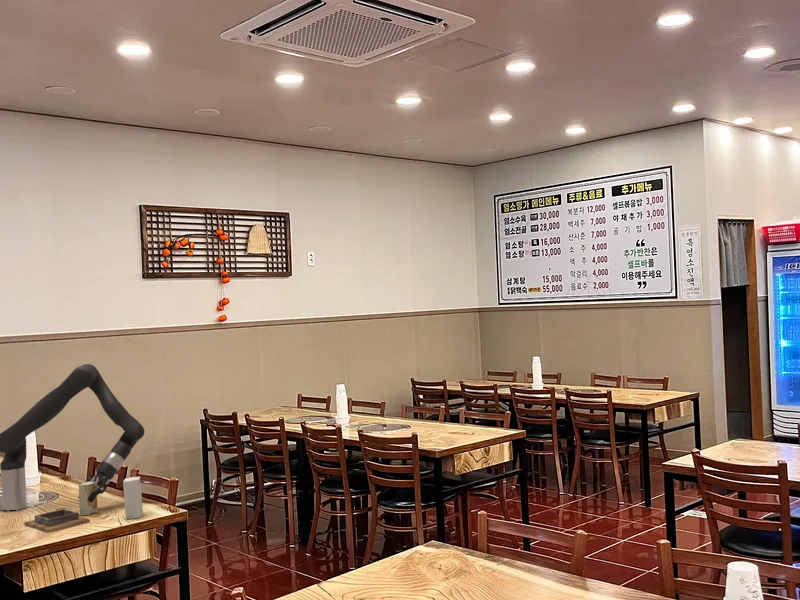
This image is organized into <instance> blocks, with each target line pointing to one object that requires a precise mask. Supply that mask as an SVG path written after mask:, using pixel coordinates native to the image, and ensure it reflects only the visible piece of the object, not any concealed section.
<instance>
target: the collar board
mask: <svg viewBox="0 0 800 600" xmlns="http://www.w3.org/2000/svg"><path fill="white" fill-rule="evenodd" d="M87 522H89V523H90V522H91V521H90V519H89V518H87V517H82V516H80V514H79V512H77V511H74V510H70V509H66V508H62V509H58V510H54V511H48V512H46V513H41V514H36V515H34V519H32V520H27V521H24V526H25V525H26V526H25V527H28V526H29V528H31V527H32V529H35V530H38V531H42V532H45V533H47V532H48V534H50V533H54V532H56V531H57V532H58V531H60V530H65V529H70V528H74V527H77V526H81V525H84V524H83V523H85V524H88V523H87ZM80 524H81V525H80ZM76 525H77V526H76ZM53 531H54V532H53ZM49 532H50V533H49Z"/></svg>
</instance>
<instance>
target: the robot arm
mask: <svg viewBox="0 0 800 600" xmlns="http://www.w3.org/2000/svg"><path fill="white" fill-rule="evenodd" d="M88 388H89V389H90V390H91V391H92V392H93V394H95V396H96V398H97V399H98V401H99V403H100V405H101V407H102V410H103V411H104V412H105V413H106V415H107V417H109V419H110V420H111V421H112V422H113V423H114V425H116V426H117V427H120V428H121V429H122V430H123V433H122V434H121V436H120V437H119V439H118V441H117V442H116V443H115V444H114V446H113V447H112V448H111V450H109V452H108V453H107V454H106V456H105V457H104V458H103V459H102V460H101V462H100V463H99V464H98V466H97V467H96V468H95V472H96V474H95V475H92V474H91V475H89V476H88V478H87V479H85V481H84V483H86V482H95V485H94V487H95V488H94V492H92V493H91V495H90V496H89V497H88V499H87V500H88V501H89V502H93V500H94V499H95V498H96V496H97V497H98V496H99V495H103V494H104V492H105V491H106V489H107V488H108V487H109V486H110V485H111V482H112V481H111V480H112V479H113V478H114V477H115V476H116V474H117V472H119V470H120V469H121V467H122V465H123V463H124V462H125V461H126V459H127V458H128V456H129V455H130V453H131V451H132V449H133V448H134V446H135V445H136V444H137V443H138V442H139V441H140V440H141V439H142V438H143V437H144V435H145V428H144V426H143V425H142V423H141V422H139V421H138V420H137V419H136V418H135V417H134V416H132V415H131V414H130V413H129V411H128V410H127V409H126V408H125V406H123V404H122V403H121V401H119V399H118V398H117V397H116V396H115V395H114V393H113V392H112V391H111V389H110V388H109V386H108V384H106V382H105V379H104V378H103V377H102V375H101V373H100V371H99V370H98V369H97V367H95V366H94V365H93V364H90V363H86V364H81V365H80V366H77V367H75V369H73V370H72V372H71V373H70V374H69V375H68V376H67V377H66V378H65V380H63V381H62V382H61V383H60V384H59V385H58V386H57V387H56V388H54V389H52V390H51V391H50V392H48V393H47V394H45V396H43V397H42V398H40V399H39V401H37V402H36V403H35V404H34V405H33V406H32V407H31V408H29V410H28V411H26V412H25V413H24V414H23V415H22V417H20V418H19V419H18V420H17V421H16V422H15V423H13V424H12V425H11V426H9V427H7V428H6V429H5V430H3V431H2V432H0V453H2V454H4V458H3V459H2V461H1V462H0V486H1V504H2V505H1V506H2V511H3V510H16V511H20V510H19V509H21V510H24V509H26V508H27V507H28V506H27V505H28V503H27V501H28V500H27V486H26V485H27V483H26V482H27V481H26V460H27V437H28V436H29V435H30V434H31V433H33V432H36V431H37V430H38V429H40V428H42V427H44V426H45V425H47V424H48V423H49V422H51V421H52V420H53V419H54V418H56V417H57V416H58V415H59V414H60V413H61V412H62V411H63V409H65V407H66V406H67V405H68V403H69V402H70V401H71V400H72V399H73V398H74V397H75V396H76V395H78V394H79V393H81V392H82V391H83V390H85V389H88ZM77 497H78V499H79V495H78V496H77ZM25 507H26V508H25ZM23 508H24V509H23Z"/></svg>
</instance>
